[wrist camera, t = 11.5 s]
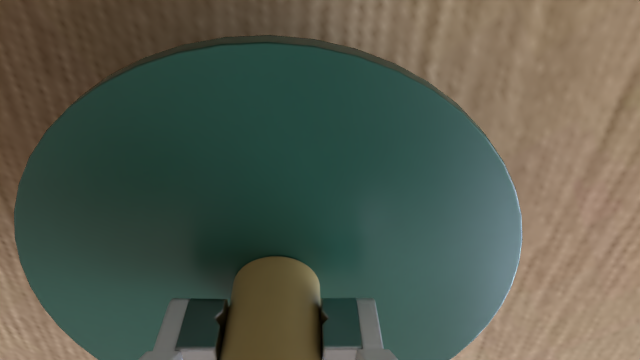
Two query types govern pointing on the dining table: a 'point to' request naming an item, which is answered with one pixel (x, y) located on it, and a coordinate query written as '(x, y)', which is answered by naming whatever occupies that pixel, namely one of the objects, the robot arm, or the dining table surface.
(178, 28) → the dining table surface
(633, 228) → the dining table surface
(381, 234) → the lid
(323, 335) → the robot arm
